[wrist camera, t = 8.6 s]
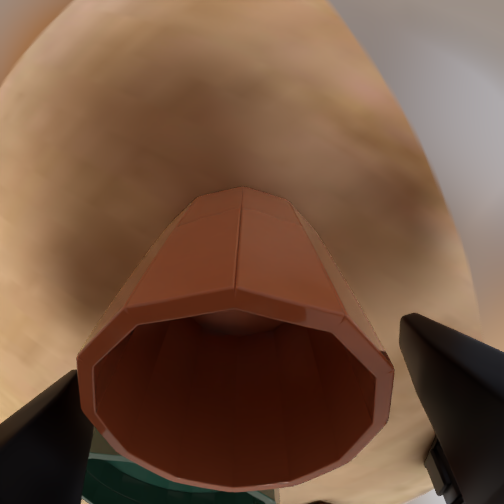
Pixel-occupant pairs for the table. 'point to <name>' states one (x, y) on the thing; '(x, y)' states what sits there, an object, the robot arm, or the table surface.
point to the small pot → (236, 353)
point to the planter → (150, 483)
